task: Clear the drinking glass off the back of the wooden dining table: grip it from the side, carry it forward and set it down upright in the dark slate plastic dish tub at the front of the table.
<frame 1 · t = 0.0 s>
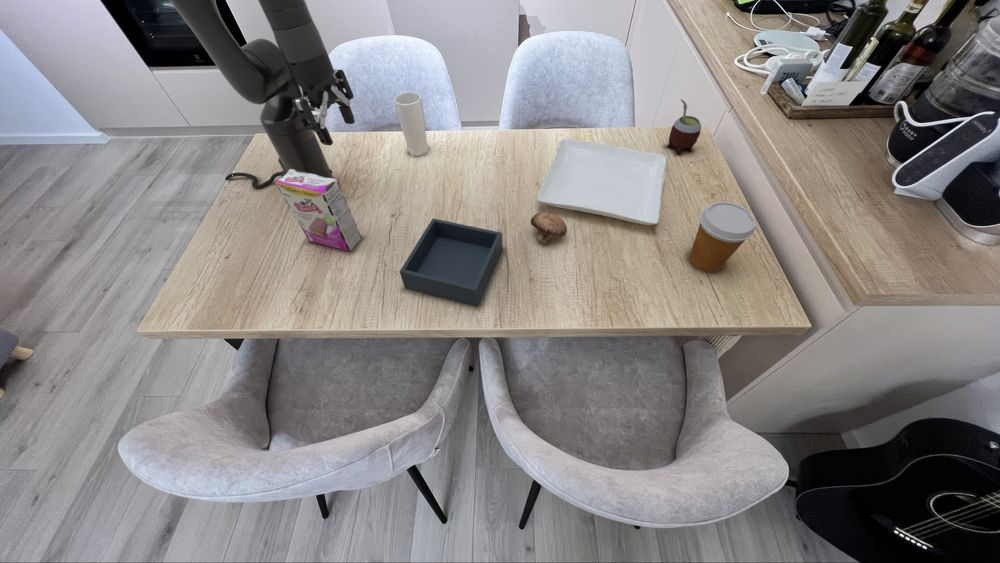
hand: (339, 133, 84), 17 cm above the table, tool pointing down, fingers open, 8 cm apart
disposable coffee cup: (705, 261, 82), on the table
mushroom: (547, 235, 88), on the table
square plate: (602, 188, 98), on the table
mate gourd: (677, 150, 107), on the table
dish tub: (455, 268, 82), on the table
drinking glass: (418, 152, 110), on the table
candy bar box: (335, 241, 88), on the table
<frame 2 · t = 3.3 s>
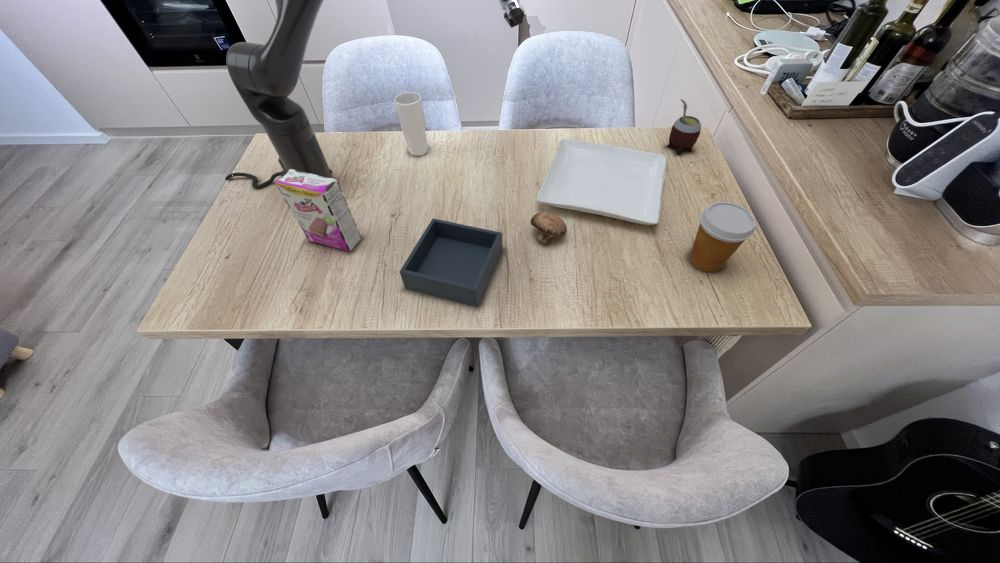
nothing on the table moved.
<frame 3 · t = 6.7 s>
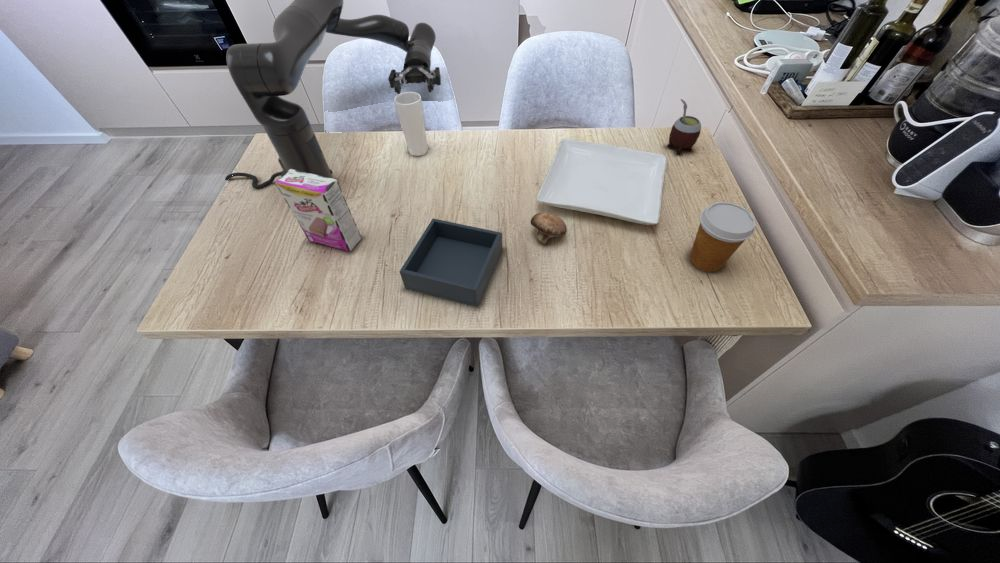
hand: (413, 89, 107), 12 cm above the table, tool horizontal, fingers open, 8 cm apart
nothing on the table moved.
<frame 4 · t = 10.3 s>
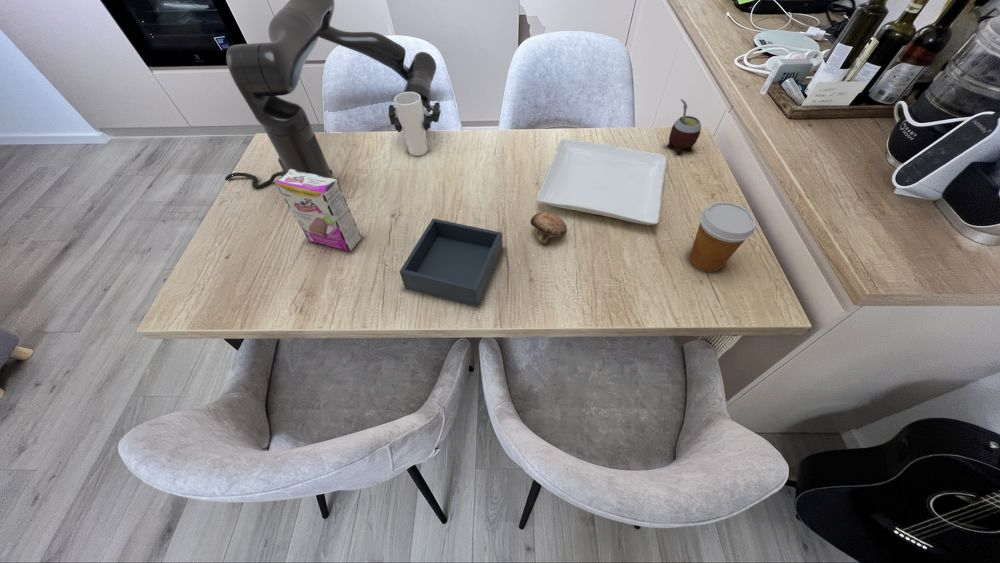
hand: (412, 128, 101), 8 cm above the table, tool horizontal, fingers closed on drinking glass, 6 cm apart
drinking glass: (418, 151, 110), on the table, touching gripper
everything else where it was.
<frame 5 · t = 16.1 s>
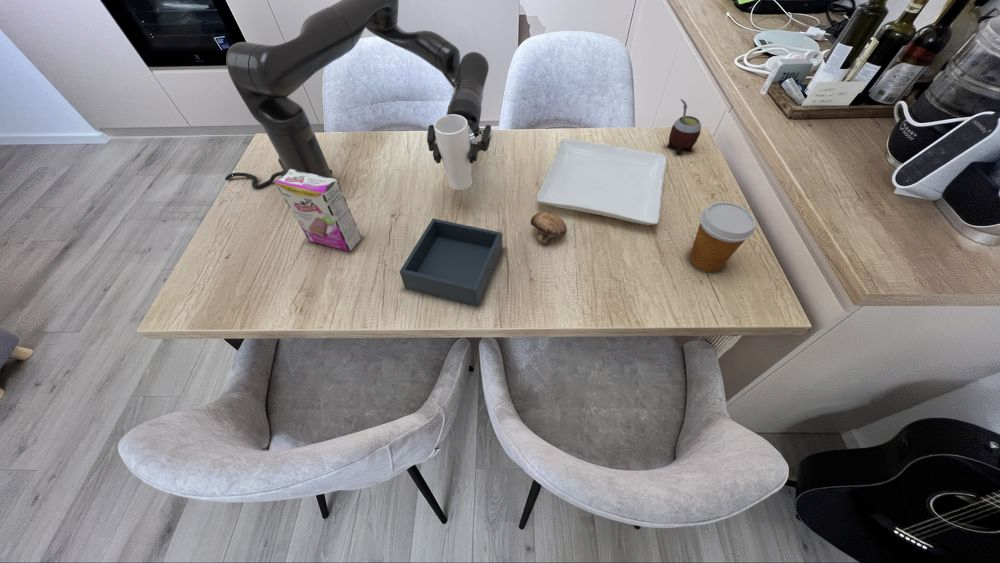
hand: (454, 159, 81), 15 cm above the table, tool horizontal, fingers closed on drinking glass, 6 cm apart
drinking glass: (460, 184, 89), point 7 cm above the table, touching gripper
everything else where it was.
when the fingers open (9 cm above the table, at t = 21.9 s): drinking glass stays where it is, resting on dish tub.
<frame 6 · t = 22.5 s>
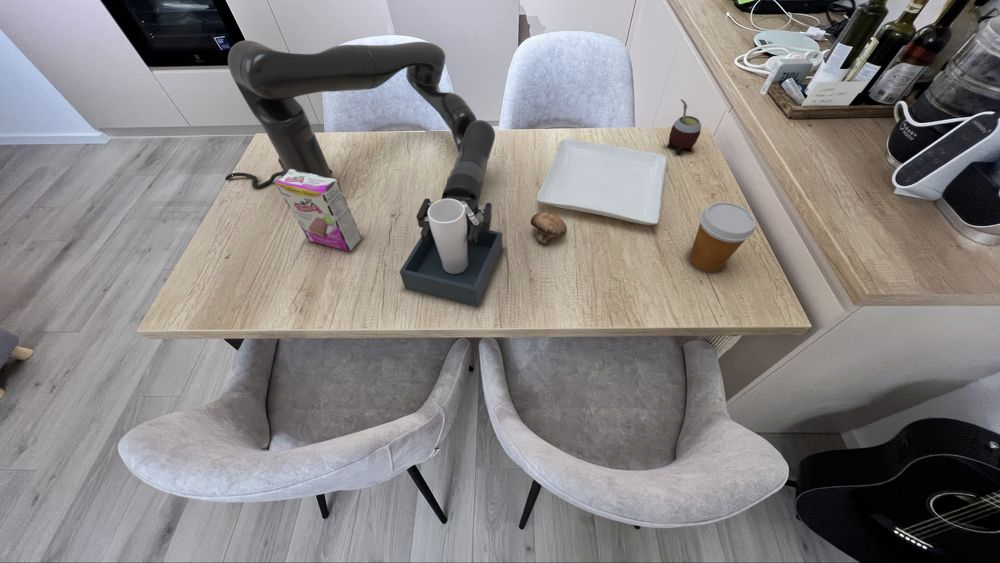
hand: (447, 241, 73), 10 cm above the table, tool horizontal, fingers open, 8 cm apart
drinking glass: (455, 266, 82), point 1 cm above the table, touching dish tub
everything else where it was.
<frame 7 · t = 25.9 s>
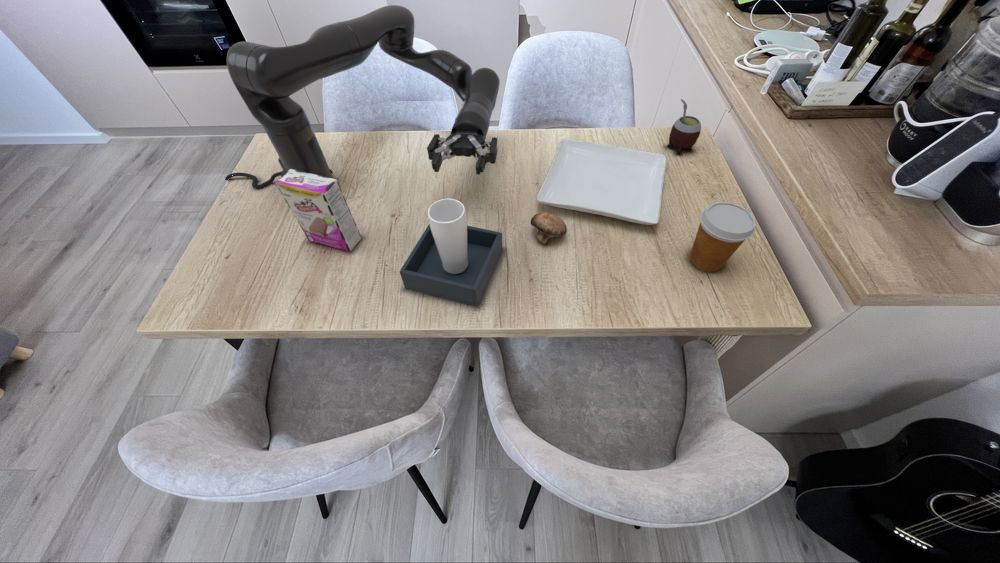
hand: (456, 169, 78), 15 cm above the table, tool horizontal, fingers open, 8 cm apart
nothing on the table moved.
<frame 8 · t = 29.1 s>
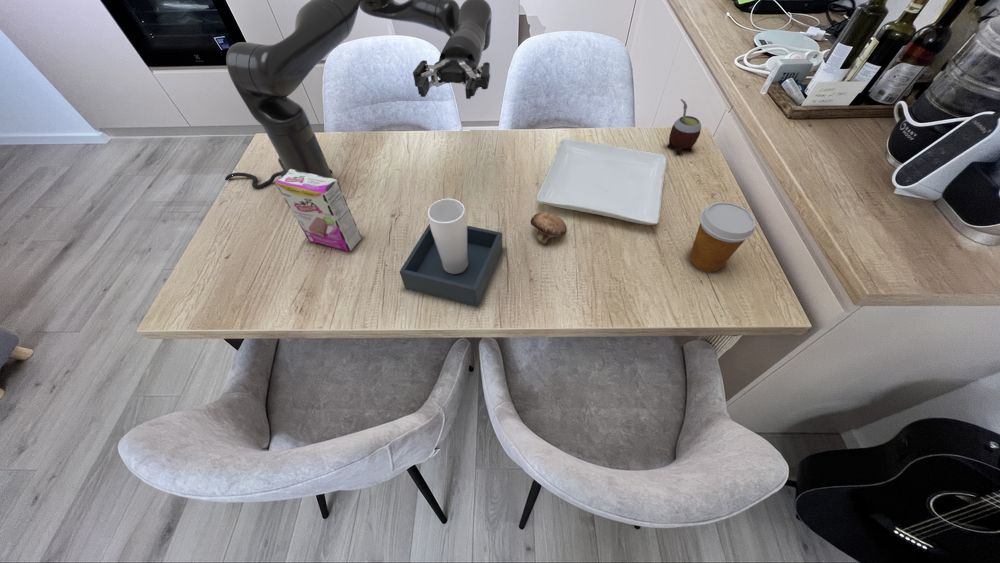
hand: (444, 92, 72), 28 cm above the table, tool horizontal, fingers open, 8 cm apart
nothing on the table moved.
at the end: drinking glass inside the target area in the dish tub (0.2 cm from its centre), point 0.6 cm above the dish tub's base; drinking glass tilted 0°; the gripper is holding nothing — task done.
